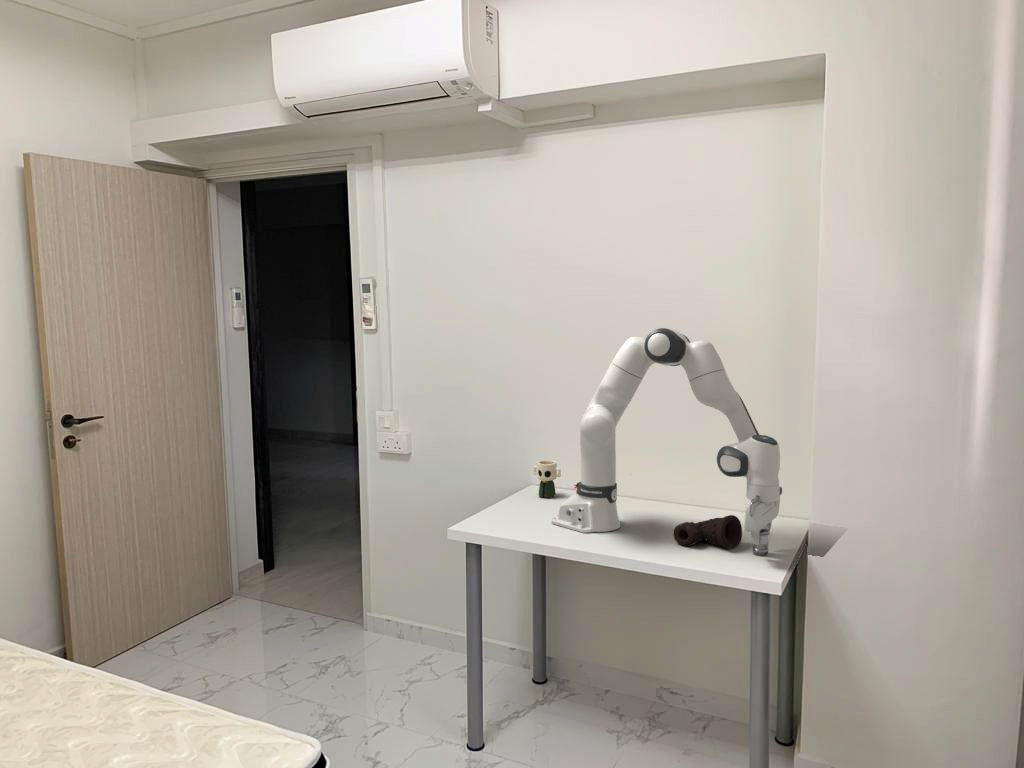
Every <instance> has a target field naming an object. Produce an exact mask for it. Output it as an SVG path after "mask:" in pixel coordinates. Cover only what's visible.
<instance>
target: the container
mask: <svg viewBox="0 0 1024 768" xmlns="http://www.w3.org/2000/svg"><path fill="white" fill-rule="evenodd" d="M768 535H769V530H767V529H763V528H762V529H761V530H760V533H759V537H760V543H759V544H758V545H756V544H753V547H752V553H753V555H754V556H757V557H767V556H768V555H769V536H770V535H769V536H768Z"/></svg>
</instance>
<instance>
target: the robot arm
mask: <svg viewBox="0 0 1024 768" xmlns="http://www.w3.org/2000/svg"><path fill="white" fill-rule="evenodd" d="M654 364H660V365H663V366H667V367H669V366H670V367H679V366H681V367H682V368H683V369H684V371H685V374H686V376H687V379H688V383H689V385H690V389H691V390H692V393H693V396H695V399H696V400H697V401H698V402H699V403H700V404H702V405H704V406H706V407H710V408H713V409H715V410H717V411H719V412H721V413H722V414H723V415H724V416H726V418H727V420H728V421H729V424H730V425H731V427H732V429H733V432H734V433H735V435H736V436H735V437H736V438H737V441H738V442H735V443H730V444H727V445H724V446H723V447H721V448H720V449H719V450H718V451H717V456H716V464H717V467H718V469H719V471H720V473H722V474H723V475H724V476H726V477H731V478H732V477H733V478H738V477H741V478H742V477H743V478H744V477H745V478H746V496H745V497H746V499H747V500H749V501H750V502H749V503H748V504H747V505H746V508H745V515H744V530H745V532H749V533H750V534H751V538H752V541H751V542H752V545H754V544H756V545H758V544H759V543H760V537H759V533H760V530H761V529H762V528H763V529H767V530H769V535H768V537H769V536H770V535H771V528H772V524H773V520H775V519H776V518H777V517H778V514H779V511H780V506H781V505H780V504H781V495H782V493H783V487H782V486H780V479H779V473H780V470H781V452H780V445H779V442H778V441H777V440H776V439H775V438H774V437H771V436H769V435H765V434H763V435H762V434H760V433H759V431H758V429H757V427H756V426H755V423H754V421H753V419H752V416H751V414H750V413H749V410H748V409H747V407H746V404H745V403H744V401H743V398H742V397H741V396H740V394H739V393H738V392H737V390H736V389H735V388H734V386H733V384H732V382H731V381H730V378H729V377H728V374H727V371H726V368H725V366H724V364H723V362H722V360H721V357H720V355H719V353H718V351H717V350H716V348H715V346H714V345H713V344H712V342H710V341H708V340H702V339H701V340H700V339H699V340H696V341H693V342H691V341H690V339H689V338H688V336H686V335H685V334H683V333H681V332H680V331H678V330H675V329H669V328H665V327H659V328H657V329H654V330H652V331H651V332H649V333H648V335H646V337H645V338H643V337H641V336H631V337H629V338H627V339H626V340H625V342H624V343H623V344H622V345H621V347H619V349H618V351H617V352H616V354H615V356H614V358H613V359H612V361H611V362H610V364H609V366H608V368H607V370H606V372H605V373H604V376H603V377H602V379H601V382H600V384H599V385H598V387H597V388H596V390H595V393H594V395H593V396H592V398H591V400H590V401H589V404H588V405H587V407H586V410H585V411H584V413H583V416H582V418H581V420H580V423H579V440H580V442H579V443H580V445H579V446H580V466H581V467H580V473H581V474H580V476H581V477H580V481H579V482H577V483H576V484H574V485H573V486H574V487H573V489H576V491H575V493H573V494H572V495H571V496H569V497H568V498H566V499H565V500H564V501H562V502H561V504H560V506H559V510H558V515H555V516H554V517H552V519H551V524H552V525H556V526H560V527H563V528H566V529H569V530H573V531H577V532H581V533H584V534H588V533H595V532H596V533H598V532H599V533H600V532H611V531H616V530H618V529H619V528H620V527H621V522H620V520H619V513H618V507H617V506H618V505H617V500H618V484H617V483H618V482H616V481H617V479H616V478H617V477H616V476H617V474H616V473H617V472H616V470H617V469H616V468H617V463H616V461H617V459H616V458H617V455H616V454H617V453H616V452H617V451H616V429H617V428H616V427H617V426H618V423H619V421H620V420H621V418H622V416H623V415H624V413H625V411H626V410H627V408H628V406H629V404H630V403H631V401H632V399H633V397H634V396H635V394H636V392H637V390H638V389H639V387H640V385H641V383H642V381H643V379H644V377H645V376H646V373H647V371H648V370H649V369H650V367H652V366H653V365H654Z"/></svg>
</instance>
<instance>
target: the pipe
mask: <svg viewBox="0 0 1024 768" xmlns="http://www.w3.org/2000/svg"><path fill="white" fill-rule="evenodd" d="M673 537H674V540H675V541H676V542H677V543H678V544H680V545H682V546H686V547H688V546H692V545H694V544H696V543H698V542H701V541H706V542H707V543H709V544H713V545H715V546H720V547H724V548H726V549H730V550H734V549H737V547H738V546H739V545H740V544H741V542H742V538H743V526H742V523H741V520H740V519H739V517H737V516H736V515H733V514H730V515H726V516H724V517H713V518H709V519H706V520H702V521H697V522H694V521H685V522H683V523H679V524H678V525H676V526H675V527H674V529H673Z"/></svg>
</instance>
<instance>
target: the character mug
mask: <svg viewBox="0 0 1024 768" xmlns="http://www.w3.org/2000/svg"><path fill="white" fill-rule="evenodd" d="M561 472H562V471H561V468H560V467H557V461H555V460H548V459H547V460H539V461H537V465H533V475H537V479H538V480H540V482H539V487H538V496H539V497H541V498H543V497H544V498H553V497H554V496H556V495H557V494H556V486H555V482H554V481H555V480H556V479H557V478H561V476H562V475H561V474H562V473H561Z"/></svg>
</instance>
